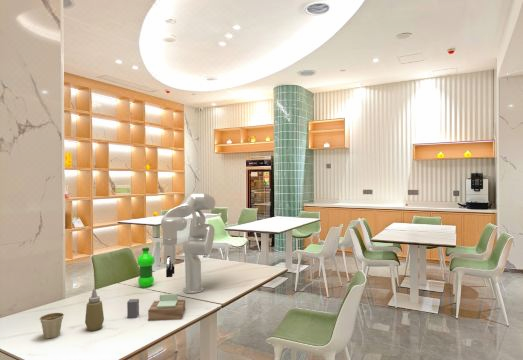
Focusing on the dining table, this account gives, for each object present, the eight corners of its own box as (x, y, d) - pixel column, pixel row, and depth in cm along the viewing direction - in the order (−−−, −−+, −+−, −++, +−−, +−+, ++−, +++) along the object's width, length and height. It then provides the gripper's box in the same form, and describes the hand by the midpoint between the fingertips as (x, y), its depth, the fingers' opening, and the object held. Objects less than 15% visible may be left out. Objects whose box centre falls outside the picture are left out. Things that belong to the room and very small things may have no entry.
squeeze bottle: (83, 333, 159) (82, 293, 159) (87, 326, 166) (86, 287, 167) (102, 330, 161) (102, 291, 161) (105, 323, 169) (105, 286, 169)
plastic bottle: (156, 284, 235) (156, 246, 235) (150, 288, 224) (149, 249, 225) (142, 283, 236) (141, 246, 236) (135, 288, 225) (134, 249, 226)
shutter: (160, 301, 183) (160, 294, 183) (177, 301, 184) (177, 293, 184) (156, 308, 174) (156, 300, 175) (175, 307, 175) (174, 299, 175)
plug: (130, 314, 180) (129, 299, 180) (139, 314, 180) (138, 298, 180) (127, 318, 175) (127, 302, 175) (136, 317, 176) (136, 301, 176)
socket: (154, 310, 186) (154, 300, 186) (185, 308, 187) (185, 299, 187) (148, 320, 172) (148, 310, 172) (181, 319, 173) (181, 308, 173)
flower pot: (68, 331, 161) (68, 312, 161) (57, 340, 152) (56, 320, 152) (47, 331, 161) (47, 312, 161) (34, 340, 151) (34, 320, 151)
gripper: (165, 239, 198) (166, 271, 198) (159, 244, 181) (160, 280, 181) (179, 239, 198) (179, 271, 198) (174, 244, 181) (175, 279, 181)
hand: (170, 275), depth 189 cm, fingers open, 5 cm apart
